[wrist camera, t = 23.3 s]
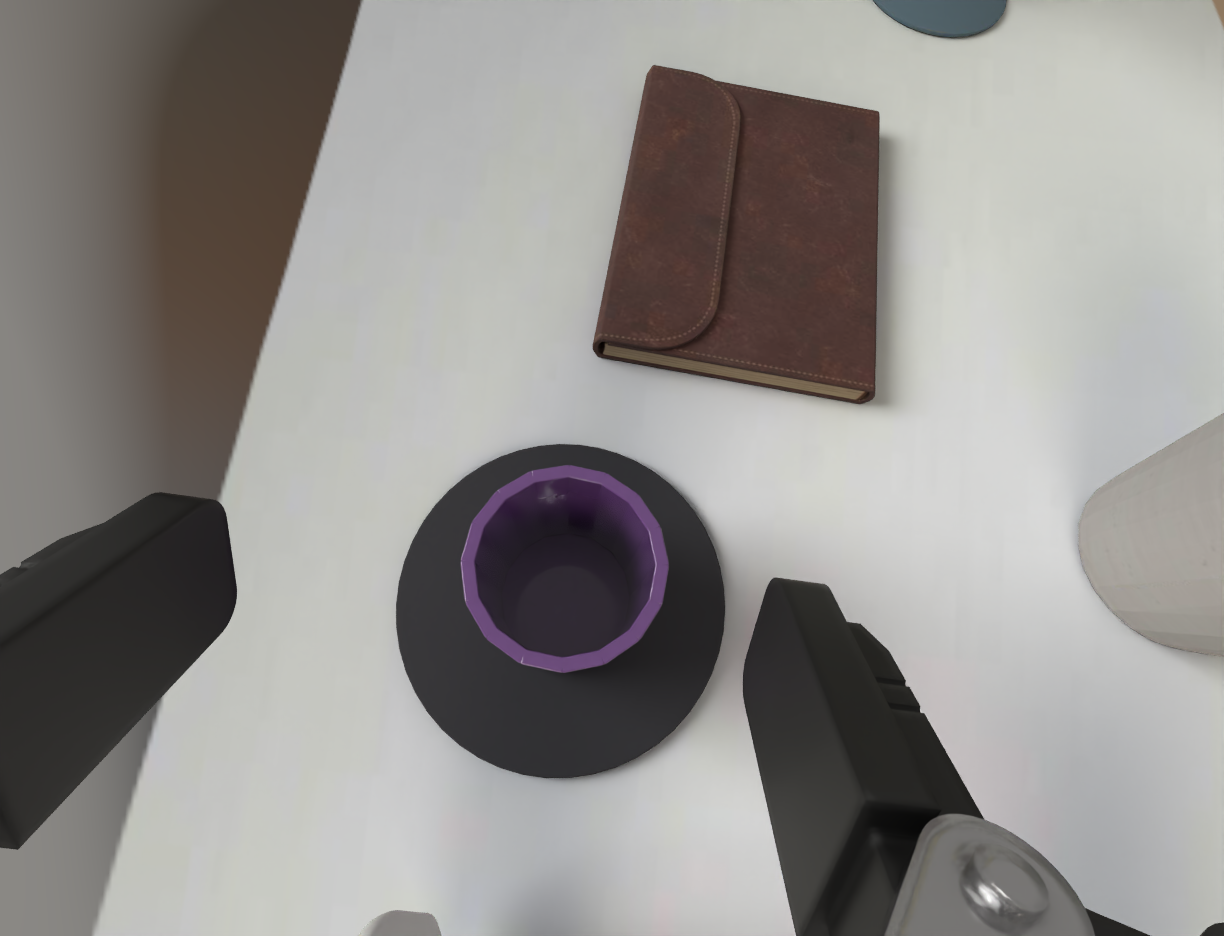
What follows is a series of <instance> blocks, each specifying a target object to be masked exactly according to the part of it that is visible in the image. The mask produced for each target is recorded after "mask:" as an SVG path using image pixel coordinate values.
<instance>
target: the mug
mask: <svg viewBox="0 0 1224 936" xmlns="http://www.w3.org/2000/svg"><path fill="white" fill-rule="evenodd" d="M358 936H441V932H440V929H439V926H438V923H437V921H436V919H435V917H434V916H433V915H431V914H429V913H419V912H410V911H400V910H395V911H390V912H387V913H384V914H382V915H380V916H378V917H376V918H375V919H373V920H372V921H370V922H369V923H368V924H367V925H366V926H365V927H364V928H363V930H362V931H361V932H360V934H359V935H358Z"/></svg>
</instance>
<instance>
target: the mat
mask: <svg viewBox="0 0 1224 936" xmlns="http://www.w3.org/2000/svg"><path fill="white" fill-rule="evenodd" d="M564 465H573V466H577V467H582V468H586V469H591V470H595V471H600V472H605V473H606V474H609V475H611V476H612V477H614V478H615V479H616V480H618V481H619V482H621V483H622V484H624V485H625V486H627V487H628V488H630V489H631V490H633V491H634V492H636V493H637V494H638V495H639V496H640V497H641V498H642V500H643V501H644V503H645V504H646V506H647V507H648V509H649V510H650V511H651V513H652V514H653V516H654V517H655V519H656V520H657V522H658V523H659V525H660V527H661V530H662V534H663V539H664V543H665V548H666V552H667V557H668V561H669V570H668V576H667V581H666V587H665V593H664V599H663V604H662V606H661V608H660V610H659V611H658V613H657V614H656V616H655V618H654V619H653V621H652V622H651V624H650V625H649V627H648V629H647V630H646V632H645V633H644V635H643V636H642V638H641V639H640V640H639V642H637V643H636V644H634V645H633V646H631V647H630V648H628V649H627V650H626V651H624V652H623V653H621V654H620V655H618V656H617V657H615V658H614V659H612V660H611V661H610V662H608V663H607V664H604V665H602V666H599V667H595V668H592V669H587V670H582V671H577V672H572V673H567V674H564V673H563V674H561V673H556V672H551V671H547V670H542V669H538V668H534V667H530V666H526V665H522V664H521V663H518V662H517V661H515V660H514V659H513V658H511V657H510V656H509V655H507V654H506V653H504V652H503V651H502V650H500V649H499V648H498V647H496V646H495V645H494V644H492V643H491V642H489V641H488V640H487V638H485V637H484V635H483V633H482V631H481V630H480V628H479V626H478V624H477V623H476V621H475V619H474V617H473V616H472V614H471V612H470V610H469V609H468V607H467V605H466V602H465V599H464V591H463V582H462V573H461V564H460V562H461V557H462V553H463V550H464V546H465V543H466V540H467V536H468V533H469V529H470V526H471V523H472V522H473V520H474V518H475V517H476V516H477V515H478V513H479V512H480V511H481V510H482V508H483V507H484V506H485V505H486V503H487V502H488V501H489V499H490V498H491V497H492V496H493V494H494V493H495V492H496V491H497V490H498V489H500V488H502V487H503V486H505V485H507V484H509V483H510V482H512V481H514V480H516V479H517V478H519V477H521V476H522V475H524V474H526V473H528V472H530V471H532V470H539V469H545V468H551V467H558V466H564ZM724 616H725V600H724V586H723V581H722V575H721V570H720V566H719V563H718V559H717V556H716V553H715V550H714V547H713V545H712V543H711V541H710V538H709V536H708V534H707V532H706V530H705V528H704V526H703V525H702V523H701V521H700V520H699V518H698V517H697V515H696V513H695V512H694V511H693V509H692V508H691V507H690V506H689V504H688V503H687V502H686V501H685V499H684V498H683V497H682V496H681V495H680V494H679V493H678V492H677V491H676V490H675V489H674V488H673V487H672V486H671V485H670V484H669V483H668V482H666V481H665V480H664V479H662V478H661V477H660V476H658V475H657V474H656V473H654V472H653V471H652V470H650V469H648V468H647V467H645V466H643V465H641V464H640V463H638V462H636V461H634V460H632V459H629V458H627V457H625V456H622V455H620V454H618V453H614V452H611V451H607V450H604V449H600V448H596V447H589V446H583V445H567V444H556V445H545V446H537V447H532V448H528V449H523V450H519V451H516V452H513V453H510V454H507V455H504V456H501V457H499V458H497V459H495V460H493V461H491V462H489V463H487V464H485V465H483V466H481V467H480V468H478V469H477V470H475V471H473V472H472V473H470V474H469V475H467V476H466V477H464V478H463V479H462V480H461V481H460V482H459V483H457V484H456V485H455V486H454V487H453V488H451V489H450V490H449V491H448V492H447V493H446V494H445V495H444V496H443V498H442V499H441V500H440V501H439V502H438V503H437V504H436V505H435V506H434V508H433V509H432V510H431V512H430V513H429V515H428V516H427V517H426V519H425V520H424V521H423V523H422V525H421V527H420V528H419V530H418V532H417V534H416V536H415V537H414V539H413V541H412V544H411V546H410V549H409V551H408V554H407V556H406V559H405V561H404V565H403V569H402V573H401V577H400V580H399V586H398V594H397V602H396V628H397V635H398V642H399V649H400V653H401V656H402V660H403V663H404V667H405V670H406V673H407V675H408V677H409V680H410V682H411V684H412V686H413V689H414V691H415V693H416V695H417V696H418V698H419V699H420V701H421V703H422V704H423V706H424V707H425V709H426V711H427V712H428V713H429V715H430V716H431V717H432V718H433V719H434V721H435V722H436V723H437V724H438V725H439V726H440V728H441V729H442V730H443V731H444V732H445V733H446V734H448V735H449V736H450V737H451V738H452V739H453V740H454V741H455V742H457V743H458V744H459V745H460V746H462V747H463V748H465V749H466V750H468V751H469V752H471V753H472V754H474V755H475V756H477V757H478V758H480V759H482V760H484V761H487V762H489V763H491V764H493V765H495V766H497V767H499V768H502V769H506V770H509V771H512V772H516V773H519V774H523V775H529V776H536V777H543V778H572V777H579V776H585V775H592V774H596V773H599V772H603V771H606V770H609V769H613V768H616V767H618V766H620V765H622V764H624V763H627V762H629V761H631V760H633V759H635V758H637V757H639V756H640V755H642V754H643V753H645V752H647V751H648V750H650V749H651V748H653V747H654V746H656V745H657V744H658V743H659V742H661V741H662V740H663V739H664V738H665V737H666V736H668V735H669V734H670V733H671V732H672V731H673V730H674V729H675V728H676V727H677V726H678V725H679V724H680V723H681V721H682V720H683V719H684V718H685V717H686V716H687V715H688V714H689V712H690V711H691V709H692V708H693V706H694V705H695V703H696V702H697V700H698V699H699V697H700V696H701V694H702V693H703V691H704V689H705V687H706V685H707V683H708V681H709V679H710V676H711V674H712V672H713V669H714V666H715V663H716V660H717V657H718V654H719V650H720V646H721V641H722V636H723V630H724Z"/></svg>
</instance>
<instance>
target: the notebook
mask: <svg viewBox="0 0 1224 936" xmlns="http://www.w3.org/2000/svg"><path fill="white" fill-rule="evenodd" d="M879 118H880V117H879V112H878V111H873V110H868V109H863V108H857V107H852V106H847V105H841V104H836V103H831V102H826V101H820V100H815V99H810V98H804V97H799V96H794V95H788V94H783V93H778V92H773V91H767V90H762V89H757V88H751V87H746V86H741V85H736V84H730V83H725V82H720V81H715V80H713V79H711V78H709V77H707V76H704V75H701V74H698V73H694V72H690V71H684V70H678V69H673V68H667V67H662V66H656V65H653V66H652V67H651V69H650V70H649V72H648V73H647V76H646V81H645V86H644V91H643V96H642V101H641V106H640V111H639V116H638V121H637V126H636V131H635V136H634V141H633V146H632V151H631V156H630V161H629V166H628V171H627V176H626V181H625V186H624V191H623V196H622V201H621V206H620V211H619V216H618V221H617V226H616V231H615V236H614V241H613V246H612V251H611V256H610V261H609V266H608V271H607V277H606V282H605V287H604V292H603V297H602V302H601V307H600V312H599V317H598V322H597V327H596V332H595V337H594V342H593V350H594V352H595V354H596V355H597V356H598V357H601V358H607V359H612V360H618V361H623V362H629V363H634V364H640V365H646V366H651V367H657V368H662V369H668V370H673V371H679V372H684V373H690V374H696V375H701V376H707V377H712V378H718V379H723V380H729V381H734V382H740V383H746V384H751V385H757V386H762V387H768V388H773V389H779V390H784V391H790V392H796V393H801V394H807V395H812V396H818V397H823V398H829V399H834V400H840V401H846V402H851V403H857V404H862V403H865V402H868V401H870V400H872V399H873V398H874V396H875V367H876V305H877V242H878V180H879Z"/></svg>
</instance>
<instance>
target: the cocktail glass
mask: <svg viewBox="0 0 1224 936" xmlns="http://www.w3.org/2000/svg"><path fill="white" fill-rule="evenodd" d="M873 1H874V2H875V3H876V4H877V6H878V7H879V8H881V9H882V10H883V11H884V12H885V13H886V14H887V15H889V16H890V17H892V18H893V19H894V20H896V21H898V22H900V23H901V24H903V25H905V26H907V27H910V28H912V29H914V30H917V31H920V32H923V33H926V34H931V35H936V36H942V37H964V36H970V35H974V34H977V33H980V32H983V31H985V30H986V29H988V28H990V27H991V26H993V25H994V24H995V23H996V22H997V21H998V20H999V18H1000V17H1001V16H1002V14H1003V12H1004V9H1005V7H1006V0H873Z"/></svg>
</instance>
